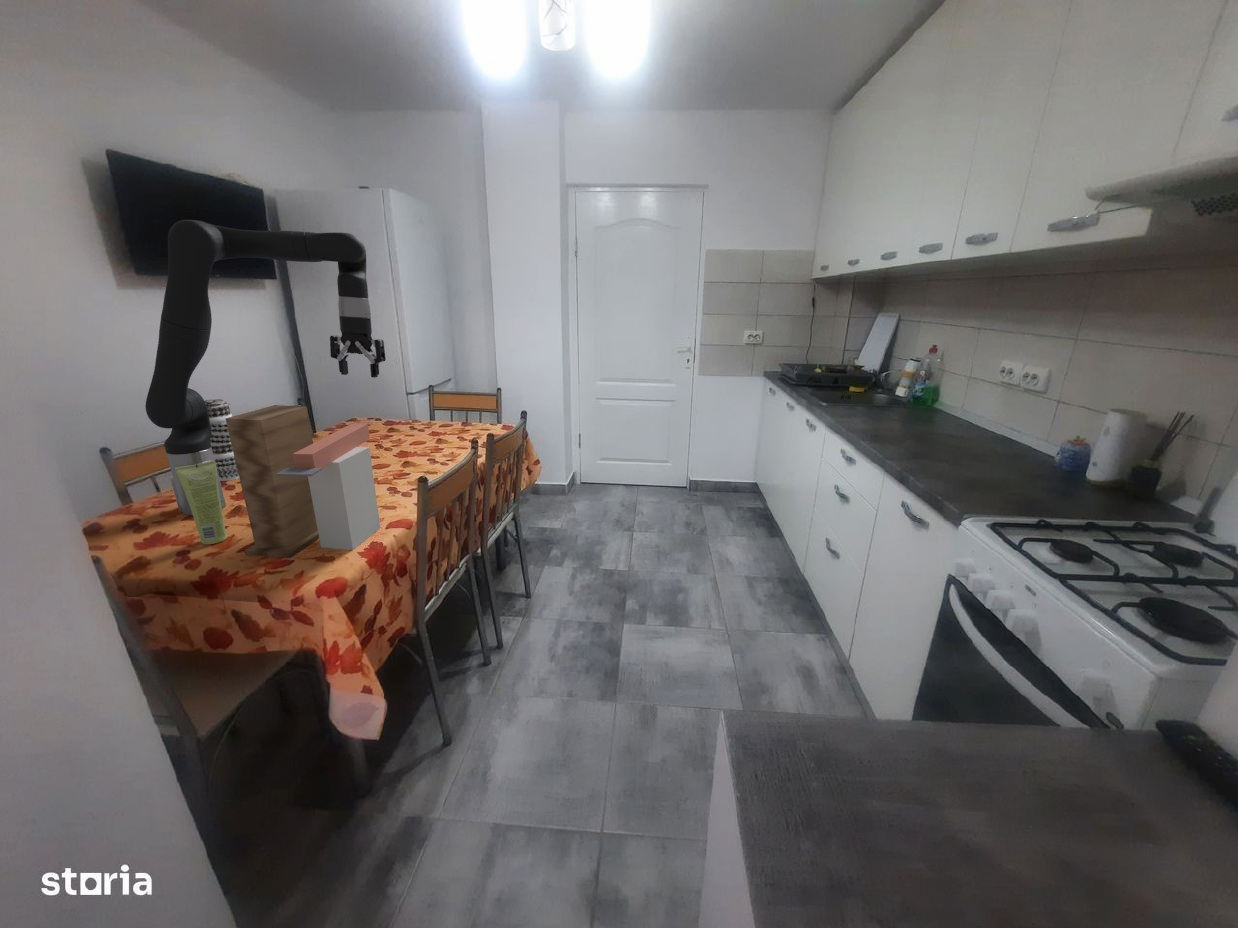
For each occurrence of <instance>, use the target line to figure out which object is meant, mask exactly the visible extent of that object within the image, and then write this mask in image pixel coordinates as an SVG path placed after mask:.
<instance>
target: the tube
mask: <svg viewBox="0 0 1238 928" xmlns="http://www.w3.org/2000/svg"><path fill="white" fill-rule="evenodd" d="M175 471H176V473H177V475H178V477H179V479H180V482H181V484H182V486H183V489H184V491H185V494H186V497H187V499H188V502H189V505H190V508H191V511H192V514H193V515H192V517H193V519H194V523H195V525H196V530H197V532H198V533H197V534H198V536H199V540H200V542H201V544H202V545H213V544H218V543H221V542H223V541H225V540H226V539H227V538H228V536H227V535H228V534H227V529H226V526H225V520H224V514H223V508H221V502H220V496H219V489H218V481H217V471H216V461H212V462H207V463H201V464H196V465H190V466H185V467H179V468H175Z"/></svg>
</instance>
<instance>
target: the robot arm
mask: <svg viewBox="0 0 1238 928" xmlns="http://www.w3.org/2000/svg"><path fill="white" fill-rule="evenodd" d="M167 252H168V253H167V256H168V257H167V259H168V263H167V264H168V268H167V269H168V271H167V273H168V274H167V282H166V286H165V292H164V297H163V304H162V310H161V314H160V320H159V321H160V324H159V330H158V331H159V332H158V343H157V349H156V356H155V364H154V371H153V373H152V374H153V375H152V377H151V382H150V385H149V389H148V392H147V395H146V400H145V412H146V415H147V417H148V419H149V420H150V421H151V423H152V424H154V425H155V426H157V427H159V428H160V429H161V428H162V429H171V432H170V434H169V436H168V437H167V438H166V439H165V441H164V443H163V445H164V450H165V453H166V457H167V461H168V463H169V467H170V470H171V474H172V478H171V479H170V483H171V486H172V489H173V493H174V498H175V500H176V504H177V507H178V510H179V513H183V514H184V515H187V516H193V514H192V511H191V508H190V505H189V502H188V499H187V497H186V494H185V491H184V489H183V486H182V484H181V482H180V479H179V477H178V475H177V473H176V471H175V468H179V467H185V466H190V465H196V464H201V463H207V462H212V461H215V459H214V455H213V451H212V447H211V442H210V440H211V436H212V430H211V425H210V419H209V414H208V409H207V406H206V403H205V399H204V398H203V396H202V395H201V393H199V392H198V391H197V390H194V389H193V388H189V384H190V379H191V376H192V375H193V373H194V372H195V370H196V368H197V366H198V365H199V363H200V362H201V360H202V359H203V358H204V356H205V354H206V352H207V349H208V347H209V344H210V337H211V331H212V310H211V303H210V298H209V281H210V278H211V274H212V269H213V266H214V263H215V262H218V261H221V260H229V259H239V258H240V259H242V258H252V259H253V258H255V259H256V258H257V259H267V260H276V261H284V262H298V263H299V262H300V263H321V262H336V263H337V269H338V274H337V280H336V281H337V293H338V300H337V301H338V303H337V306H338V319H339V329H340V330H339V331H340V333H341V336H340V335H338V334H337V335H330V336H329V347H330V349H329V350H330V358H332V359H335V360H337V361H338V371H339V372H340V374H341V375H343V376H345V375H348V374H349V366H348V360H347V359H348V358H349V356H350V355H352V354H358V355H363V356H364V357H365V358H367V359H368V360H369V362H370V364H369V366H370V367H369V368H370V377H371V378H373V379H374V378H375V379H376V378H377V377H379V375H380V365H379V364H380V363H383V362H385V361H387V359H386V352H385V351H386V350H385V342H384V339H382V338H381V339H380V338H378V339H373V338H372V333H373V330H372V318H371V317H372V316H371V315H372V313H371V306H370V300H369V289H368V282H367V250H366V247H365V245H364V243H363V242H362V241H361V240H360V239H359V237H357V236H356V235H354V234H352V233H349V232H310V231H300V230H299V231H298V230H252V229H251V230H248V229H239V228H238V229H237V228H231V227H227V226H222V225H216V224H211V223H209V222H206V221H203V220H196V219H181V220H178V221H177V222H175V223H174V224H173V225H172V226H171V227H170V228H169V230H168V234H167ZM341 344H342V345H343V346H342V348H341ZM372 346H373V347H374V348H375V349H374V350H375V351H374V350H373V348H372ZM216 471H217V467H216ZM217 481H218V489H219V496H220V502H221V508H222V509H223V508H225V507H226V499H225V496H224V491H223V488H222V483H221V481H220V479H219V475H218V471H217Z"/></svg>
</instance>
